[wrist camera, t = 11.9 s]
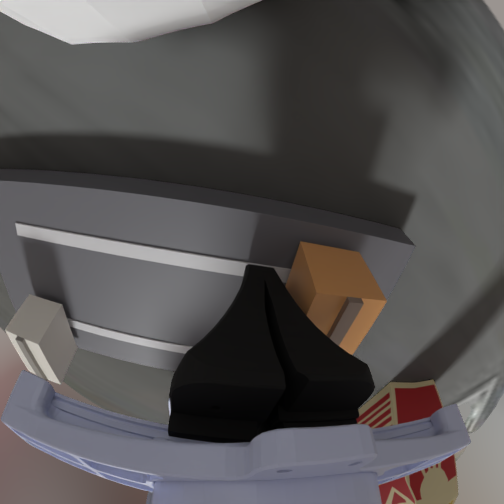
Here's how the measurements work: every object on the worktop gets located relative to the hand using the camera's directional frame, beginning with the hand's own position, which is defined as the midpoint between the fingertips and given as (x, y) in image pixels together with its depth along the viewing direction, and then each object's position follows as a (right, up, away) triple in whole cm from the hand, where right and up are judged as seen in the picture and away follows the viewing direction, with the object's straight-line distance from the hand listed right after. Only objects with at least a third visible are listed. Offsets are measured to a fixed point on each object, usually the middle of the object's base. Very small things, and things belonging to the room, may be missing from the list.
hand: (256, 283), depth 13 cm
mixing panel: (-5, -1, +4) cm, 7 cm away
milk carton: (+17, -17, +15) cm, 28 cm away
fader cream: (-14, -3, +3) cm, 15 cm away
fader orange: (+3, 0, +1) cm, 3 cm away
